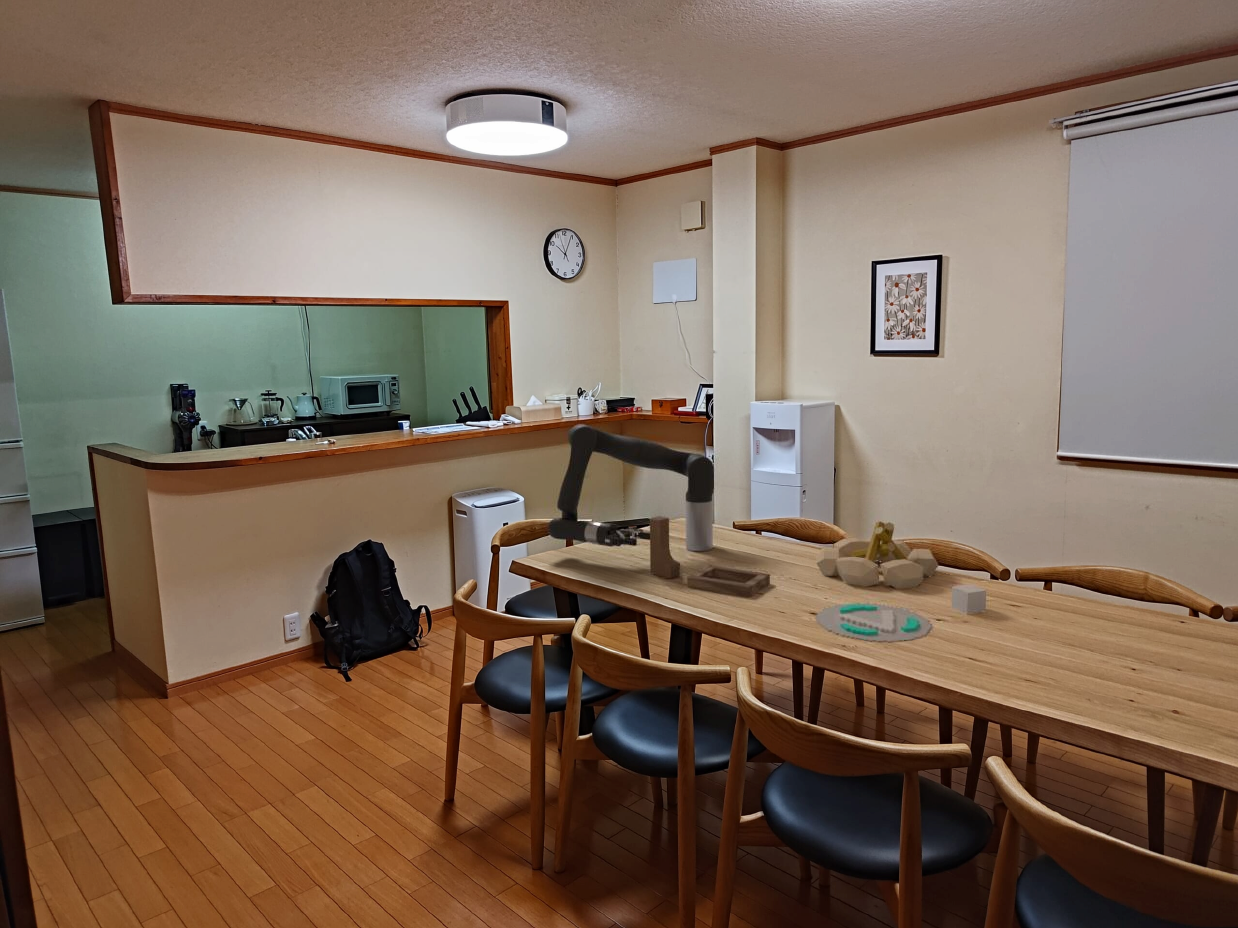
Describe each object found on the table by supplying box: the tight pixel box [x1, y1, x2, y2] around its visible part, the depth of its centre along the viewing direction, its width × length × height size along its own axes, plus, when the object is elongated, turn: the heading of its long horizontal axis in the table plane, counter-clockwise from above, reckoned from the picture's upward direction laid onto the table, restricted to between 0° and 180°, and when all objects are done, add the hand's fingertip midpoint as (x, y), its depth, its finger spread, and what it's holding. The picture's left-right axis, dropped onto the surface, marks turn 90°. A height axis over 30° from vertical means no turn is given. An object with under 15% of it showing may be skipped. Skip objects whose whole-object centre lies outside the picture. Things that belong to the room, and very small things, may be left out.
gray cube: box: [950, 583, 987, 615], centre depth 219 cm, size 6×6×6 cm
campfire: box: [815, 521, 939, 590], centre depth 253 cm, size 35×34×17 cm
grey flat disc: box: [815, 602, 934, 643], centre depth 211 cm, size 28×28×2 cm
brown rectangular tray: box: [686, 564, 771, 598], centre depth 245 cm, size 15×20×3 cm
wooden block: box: [649, 515, 681, 580], centre depth 256 cm, size 9×4×18 cm, turn 43°
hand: (643, 539), depth 260 cm, fingers open, 8 cm apart
